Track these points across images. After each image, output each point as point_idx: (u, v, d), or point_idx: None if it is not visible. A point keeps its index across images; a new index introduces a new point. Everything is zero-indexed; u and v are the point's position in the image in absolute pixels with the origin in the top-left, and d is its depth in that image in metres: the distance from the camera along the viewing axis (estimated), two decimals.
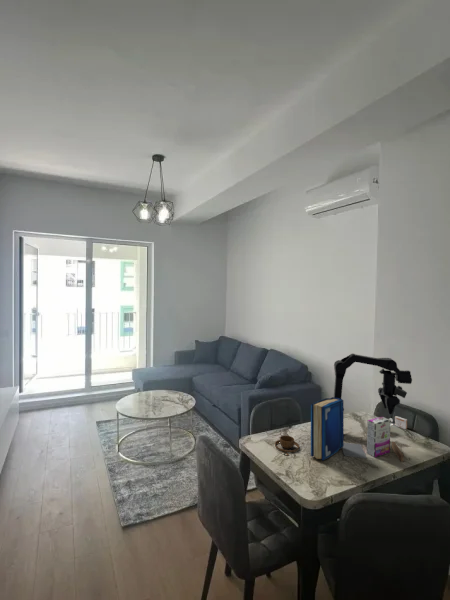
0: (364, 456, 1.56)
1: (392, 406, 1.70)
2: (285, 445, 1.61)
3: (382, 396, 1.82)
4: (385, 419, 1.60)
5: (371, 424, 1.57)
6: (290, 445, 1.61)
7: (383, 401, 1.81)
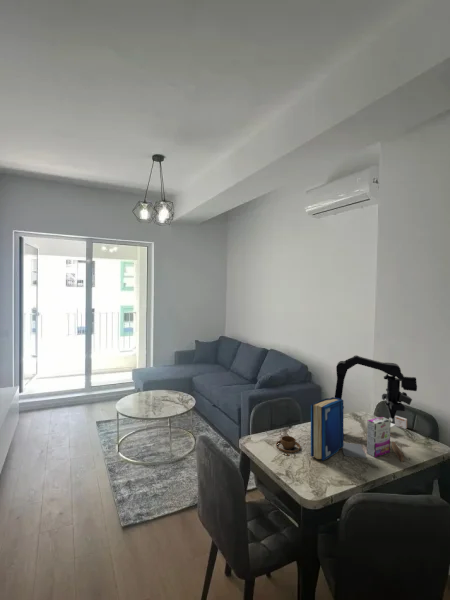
0: (364, 456, 1.56)
1: (394, 410, 1.69)
2: (286, 445, 1.60)
3: None
4: (385, 419, 1.60)
5: (371, 424, 1.57)
6: (291, 445, 1.60)
7: None
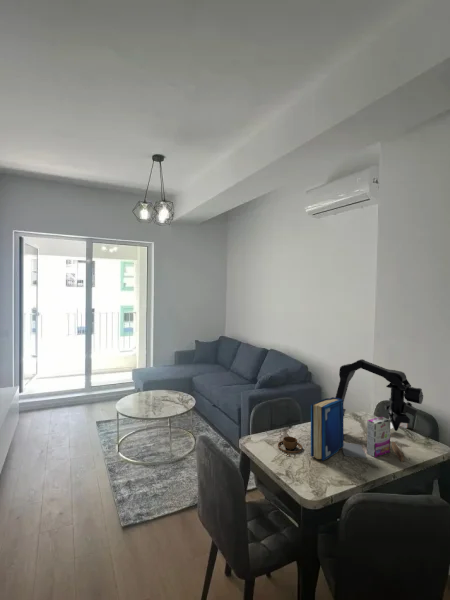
0: (364, 456, 1.56)
1: (398, 422, 1.57)
2: (287, 446, 1.60)
3: None
4: (385, 419, 1.60)
5: (371, 424, 1.57)
6: (293, 446, 1.60)
7: None
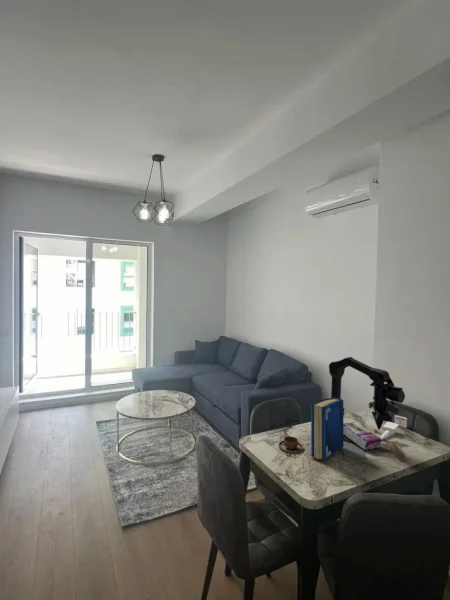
0: (364, 456, 1.56)
1: (381, 420, 1.58)
2: (288, 446, 1.60)
3: None
4: None
5: None
6: (293, 446, 1.60)
7: None
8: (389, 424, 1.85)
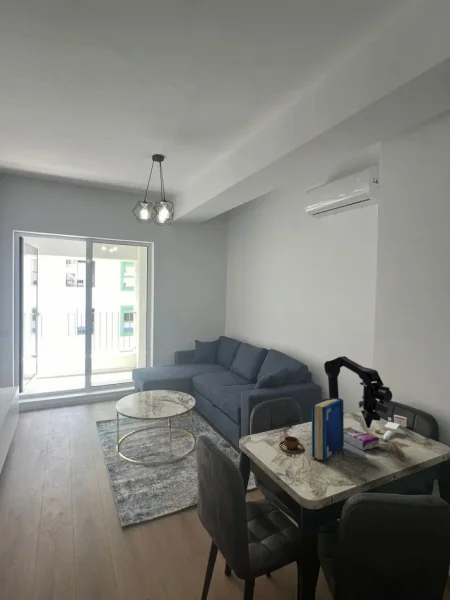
0: (364, 456, 1.56)
1: (370, 419, 1.59)
2: (289, 446, 1.60)
3: (364, 414, 1.62)
4: None
5: None
6: (294, 446, 1.60)
7: None
8: (390, 424, 1.85)
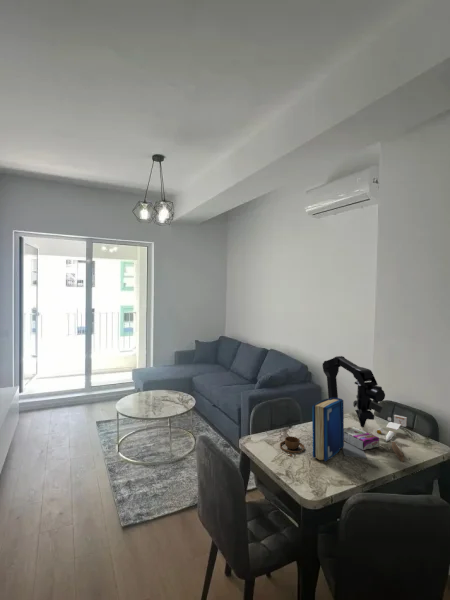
0: (364, 456, 1.56)
1: (364, 418, 1.60)
2: (289, 446, 1.60)
3: (359, 413, 1.62)
4: None
5: None
6: (295, 446, 1.60)
7: None
8: (391, 424, 1.85)
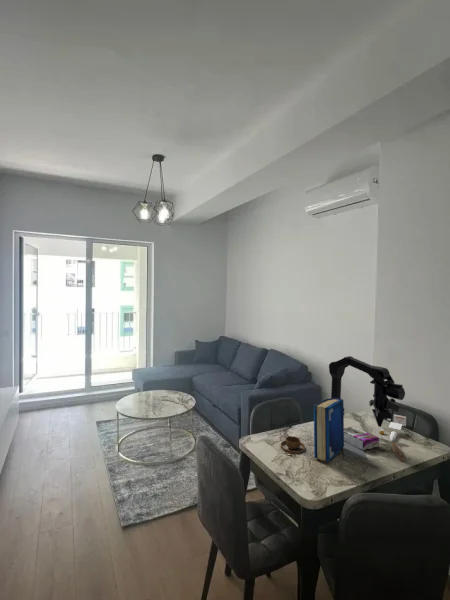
0: (364, 456, 1.56)
1: (381, 418, 1.58)
2: (290, 446, 1.60)
3: (375, 412, 1.60)
4: None
5: None
6: (295, 446, 1.60)
7: None
8: (393, 424, 1.85)
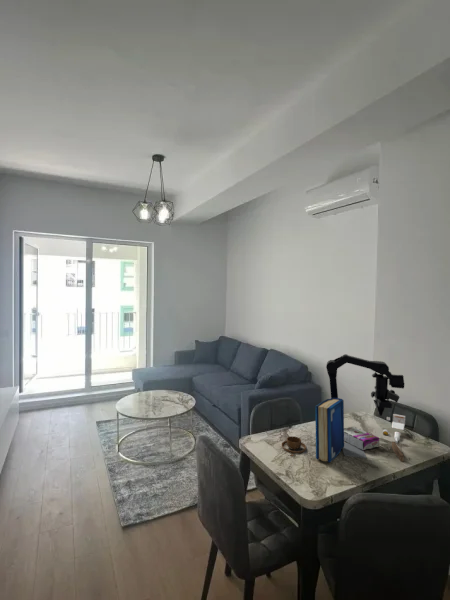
0: (364, 456, 1.56)
1: (382, 407, 1.73)
2: (291, 446, 1.60)
3: (377, 403, 1.75)
4: None
5: None
6: (296, 446, 1.60)
7: None
8: (395, 424, 1.85)
